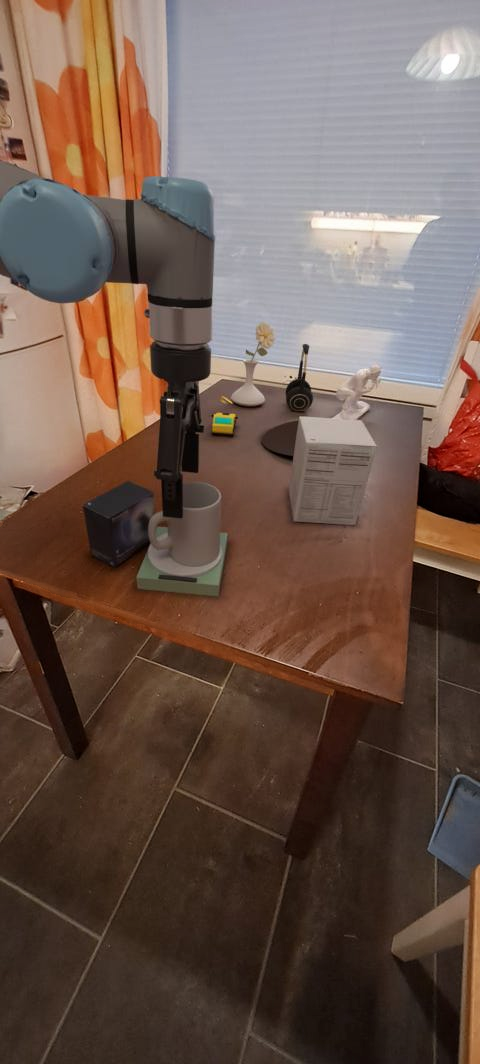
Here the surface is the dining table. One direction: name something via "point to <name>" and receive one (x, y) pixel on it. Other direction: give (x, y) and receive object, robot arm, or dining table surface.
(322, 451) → the supplement box
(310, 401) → the headphones
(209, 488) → the mug
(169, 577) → the scale
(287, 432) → the plate
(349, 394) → the figurine
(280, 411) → the dining table surface
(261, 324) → the flower in vase
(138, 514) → the small box
